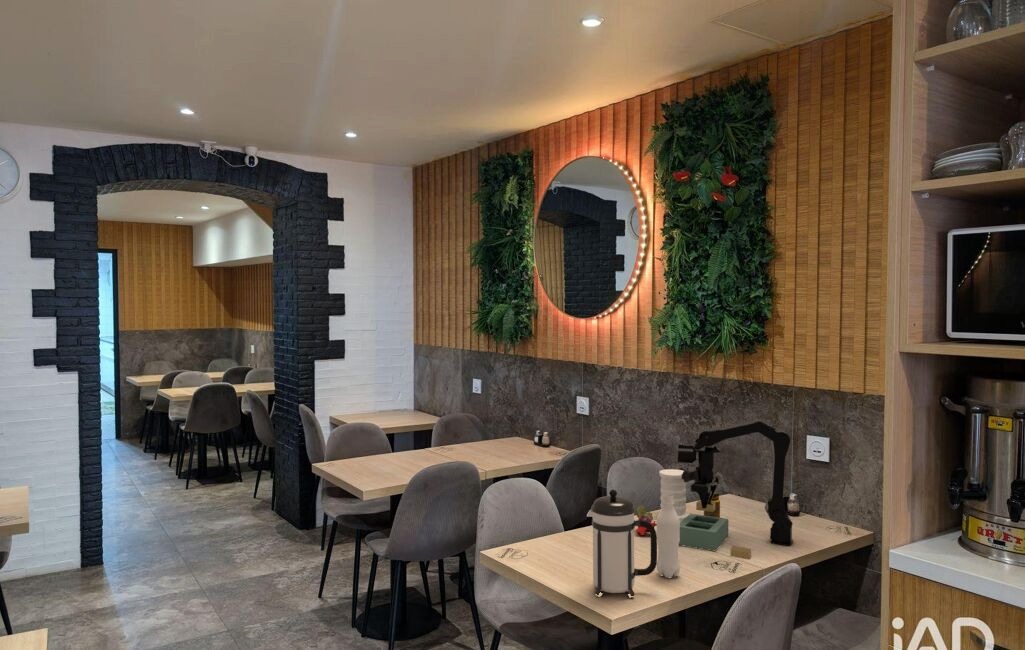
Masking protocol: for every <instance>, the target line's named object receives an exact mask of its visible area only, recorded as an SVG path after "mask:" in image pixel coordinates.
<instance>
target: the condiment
mask: <svg viewBox="0 0 1025 650" xmlns="http://www.w3.org/2000/svg"><path fill="white" fill-rule="evenodd" d="M711 502H715V510H714V512H709V511H703V515H705V516H712V517H719V518H721V500H720V493H719V492H718V491H717V490H716V491H715V493H714V495H713V498H712V500H711Z"/></svg>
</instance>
